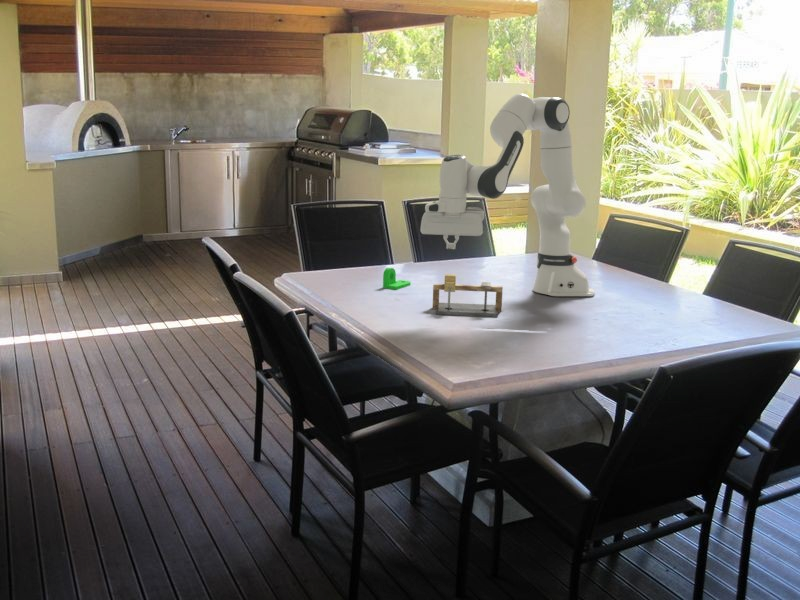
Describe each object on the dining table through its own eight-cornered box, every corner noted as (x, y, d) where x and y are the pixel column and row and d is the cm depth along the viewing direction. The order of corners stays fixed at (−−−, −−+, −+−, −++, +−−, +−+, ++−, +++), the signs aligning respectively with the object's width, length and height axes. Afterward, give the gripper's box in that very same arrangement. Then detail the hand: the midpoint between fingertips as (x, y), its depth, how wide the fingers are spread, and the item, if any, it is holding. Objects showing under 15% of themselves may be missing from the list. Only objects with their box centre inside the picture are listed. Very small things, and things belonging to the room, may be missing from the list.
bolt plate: (496, 308, 286) (496, 304, 286) (497, 317, 274) (497, 313, 273) (437, 305, 288) (437, 302, 288) (435, 314, 275) (435, 310, 275)
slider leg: (454, 303, 286) (455, 274, 283) (454, 308, 278) (455, 278, 276) (444, 302, 286) (445, 273, 284) (443, 307, 279) (444, 277, 277)
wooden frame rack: (501, 310, 284) (502, 282, 282) (501, 314, 277) (503, 286, 275) (432, 307, 286) (433, 280, 284) (431, 311, 279) (432, 283, 277)
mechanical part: (396, 291, 311) (397, 270, 309) (382, 289, 314) (383, 268, 312) (413, 286, 321) (413, 266, 319) (400, 285, 324) (400, 264, 322)
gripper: (484, 206, 274) (482, 248, 277) (421, 204, 276) (420, 246, 279) (484, 208, 268) (483, 251, 271) (420, 206, 270) (419, 249, 272)
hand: (450, 248), depth 275 cm, fingers closed
